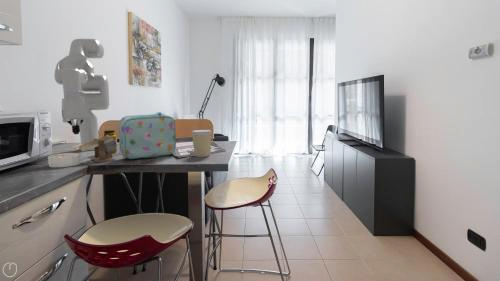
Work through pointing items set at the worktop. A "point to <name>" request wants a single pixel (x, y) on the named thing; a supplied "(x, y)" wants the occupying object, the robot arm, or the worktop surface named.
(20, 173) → the worktop surface
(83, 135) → the robot arm
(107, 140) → the lever
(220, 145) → the worktop surface
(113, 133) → the condiment
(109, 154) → the stand
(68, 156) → the bowl
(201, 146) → the coffee cup
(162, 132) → the lunch box
